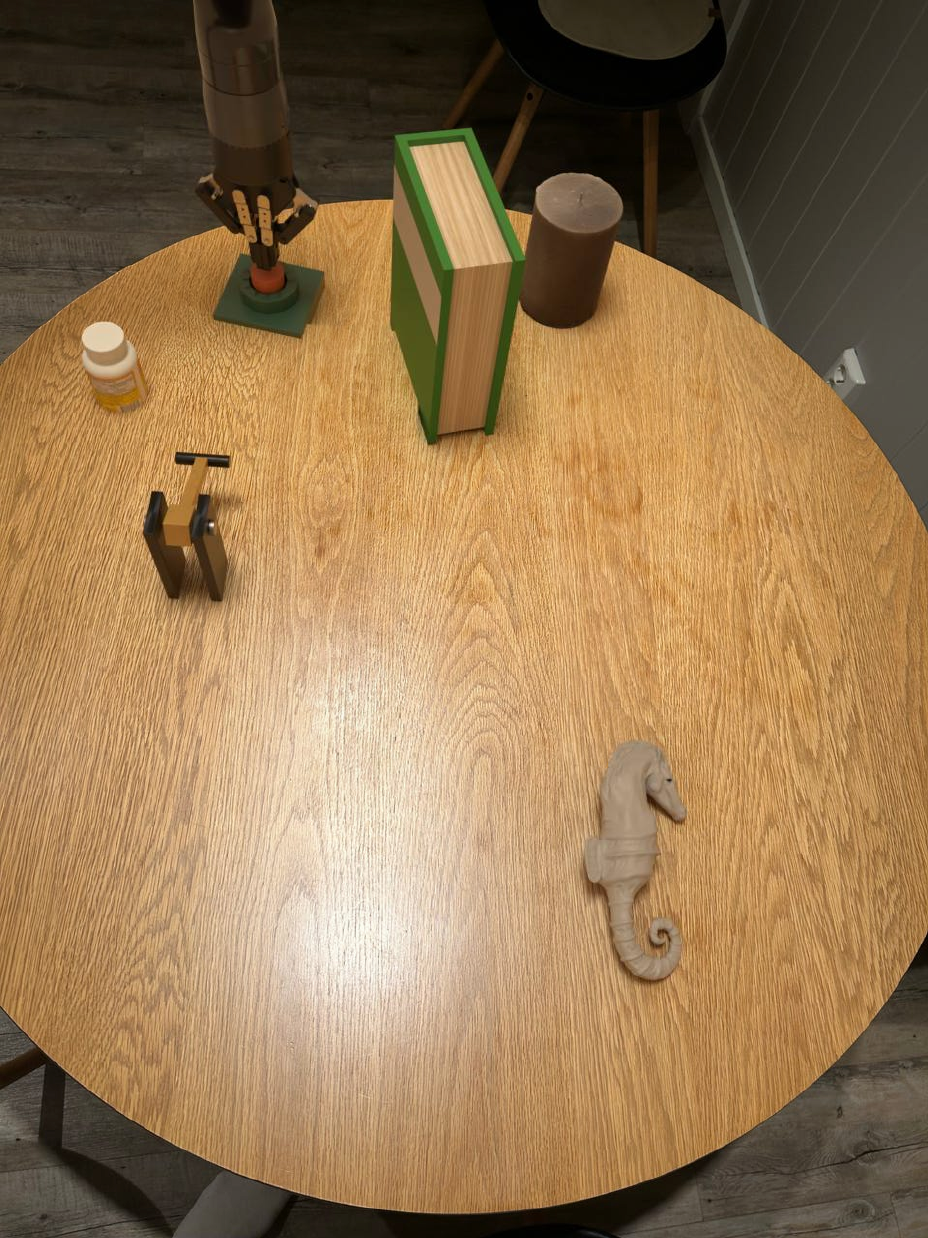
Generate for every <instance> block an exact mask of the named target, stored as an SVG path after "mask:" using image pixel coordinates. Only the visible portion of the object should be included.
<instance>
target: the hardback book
mask: <svg viewBox="0 0 928 1238" xmlns="http://www.w3.org/2000/svg"><path fill="white" fill-rule="evenodd" d="M393 159H394V161H393V193H392V195H393V198H392V230H391V231H392V232H391V233H392V235H391V238H392V240H391V271H390V273H391V275H390V277H391V278H390V310H389V311H390V312H389V315H390V316H389V325H390V329H391V332H395V335H396V338H397V341H398V344H399V347H400V348H399V349H400V350H401V354H402V357H403V360H404V364H405V367H406V369H407V373H408V376H409V379H410V382H411V385H412V388H413V391H414V395H415V398H416V402H417V404H418V405H417V406H418V407H417V414H418V417H419V420H420V424H421V427H422V430H423V433H424V437H425V439H426V443H427V446H431V445H436V444H437V443H438V442H437V441H438V436H439V435H443V434H450V433H454V432H461V431H467V430H468V431H469V430H473V429H479V428H482V430H483V432H484V435H485V436H490V435H494V434H495V429H496V423H497V418H498V414H499V413H498V412H499V409H500V408H499V407H500V402H501V396H502V391H503V387H504V380H505V375H506V369H507V365H508V358H509V353H510V348H511V343H512V337H513V332H514V327H515V323H516V322H515V321H516V318H517V317H516V316H517V311H518V307H519V301H520V300H519V295H520V290H521V284H522V279H523V274H524V268H525V263H526V258H525V253H524V251H523V249H522V247H521V243H520V241H519V240H518V237H517V235H516V232H515V230H514V226H513V225H512V222H511V220H510V217H509V216H508V212H507V210H506V208H505V205H504V202H503V200H502V198H501V196H500V193H499V191H498V188H497V186H496V184H495V181H494V178H493V177H492V174H491V171H490V170H489V167H488V164H487V162H486V160H485V157H484V155H483V151H481V148H480V145H479V143H478V140H477V138H476V136H475V133H474V131H473V129H472V127H466V128H455V129H446V130H435V131H425V132H415V133H404V134H396V135H395V134H394V158H393Z"/></svg>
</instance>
